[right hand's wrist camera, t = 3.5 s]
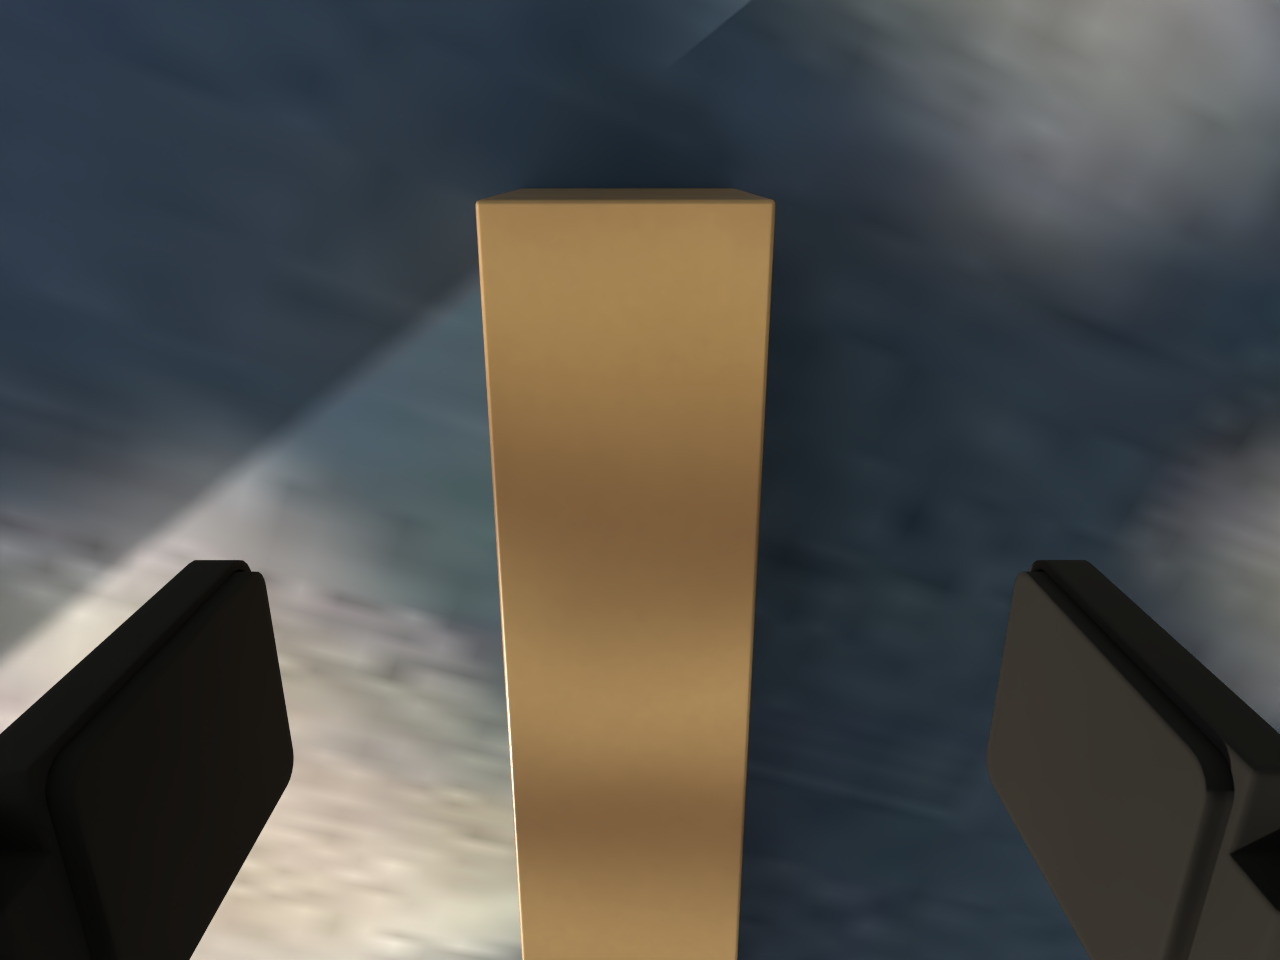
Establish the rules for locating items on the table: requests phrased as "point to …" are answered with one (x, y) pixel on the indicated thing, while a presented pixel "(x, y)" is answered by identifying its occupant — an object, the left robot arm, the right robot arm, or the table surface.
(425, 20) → the table surface
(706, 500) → the bar
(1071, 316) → the table surface
